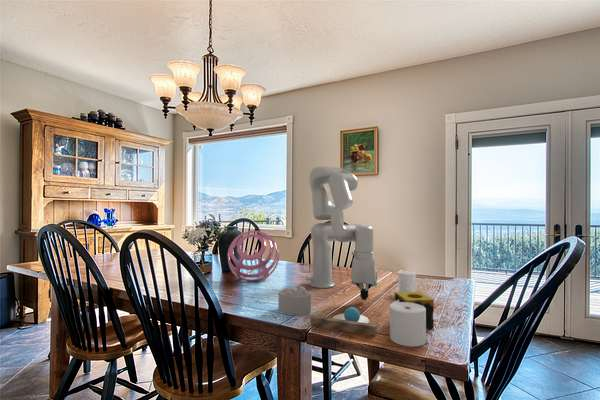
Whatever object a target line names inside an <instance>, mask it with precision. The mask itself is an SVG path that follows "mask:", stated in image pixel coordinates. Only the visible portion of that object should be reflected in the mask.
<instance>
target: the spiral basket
mask: <svg viewBox="0 0 600 400" xmlns="http://www.w3.org/2000/svg"><path fill="white" fill-rule="evenodd" d="M248 238H249V239H250V238H256V239H258V240H259V241H260V243H261V244H260V245H261V246H260V249H259V251H257V250H256V249H253V251H254V254H247V253H248V250H249V249H248V248H246V250H244V251H243V249H242V244H243V242H244V241H245V240H246V239H248ZM266 240H267V242H268V243H269V253H268V255H267V256H266V258H265V259H264V260H263V259H262V256H263V255H264V254H265V252H266V249H267V243H266ZM235 247H236V250H237V251H236V252H237V254H238V255H239V256H240V259H239V260H238V259H237V257H236V256H235V252H234V249H235ZM274 251H275V256H274V258H273V255H274ZM272 258H273V261H272V263H271V264H270V265H269V267H267V264H268V263H270V261H271V260H272ZM231 260H232V261H233V263H234V264H235V266H236V267H235V266H234V265H233V263H232V261H231ZM244 260H245V261H256V260H257V262H258V263H257V264H253V265H247V264H245V263H243V262H244ZM279 261H280V252H279V248H278V245H277V242H276V241H275V240H274V238H272V236H271V235H269V234H267V233H266V232H263V231H260V230H248V231H244V232H242V233H240V234H238V236H237V237H236V236H235V238H234V239H233V240H232V241H231V243H230V244H229V247H228V250H227V263H228V267H229V269H230V271H231V272H232V274H233V275H234V276H236V278H238V279H240V280H243V282H244V281H245V282H250V283H251V282H252V283H253V282H259V281H262V280H266V279H268V278H269V277H270V276H271V275H272V274H273V272H274V271H275V270H276V269H277V267H278V264H279ZM260 269H261V270H262V271H261V270H260ZM241 270H244V271H245V270H246V271H249V272H247V273H245V272H242V271H241ZM255 270H258V272H257V273H252V272H253V271H255ZM259 277H260V278H259ZM250 278H251V279H250ZM253 278H255V279H253Z"/></svg>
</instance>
